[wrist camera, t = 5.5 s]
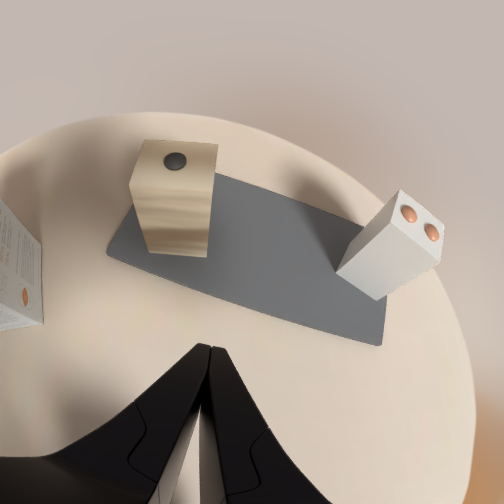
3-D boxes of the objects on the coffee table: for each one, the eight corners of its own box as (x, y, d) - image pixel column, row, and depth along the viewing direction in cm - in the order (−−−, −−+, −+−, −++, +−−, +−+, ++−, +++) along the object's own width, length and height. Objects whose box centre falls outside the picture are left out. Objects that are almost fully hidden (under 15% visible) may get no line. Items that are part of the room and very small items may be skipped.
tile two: (376, 300, 25) (441, 261, 16) (335, 273, 25) (391, 220, 17) (387, 269, 26) (446, 224, 18) (349, 242, 27) (401, 187, 19)
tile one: (206, 257, 23) (212, 188, 15) (148, 252, 23) (127, 182, 15) (210, 217, 25) (218, 142, 17) (156, 213, 24) (144, 137, 16)
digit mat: (107, 255, 22) (105, 252, 22) (164, 161, 28) (163, 157, 28) (377, 345, 23) (381, 344, 23) (386, 240, 29) (389, 238, 28)
